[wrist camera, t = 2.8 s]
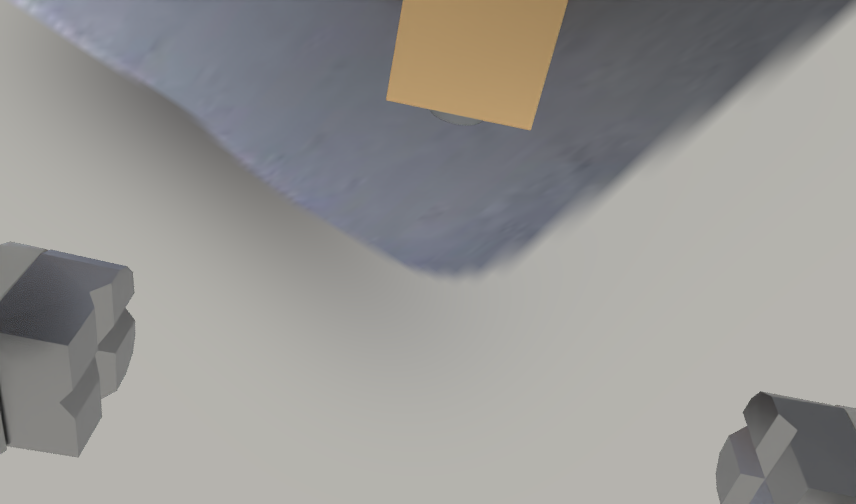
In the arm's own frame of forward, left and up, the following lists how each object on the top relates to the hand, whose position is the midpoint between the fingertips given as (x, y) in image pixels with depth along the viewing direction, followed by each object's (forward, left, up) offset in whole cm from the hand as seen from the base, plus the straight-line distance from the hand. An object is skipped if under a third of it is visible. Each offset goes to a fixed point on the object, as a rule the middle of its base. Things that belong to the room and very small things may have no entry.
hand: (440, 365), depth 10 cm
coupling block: (0, 0, -19) cm, 19 cm away
